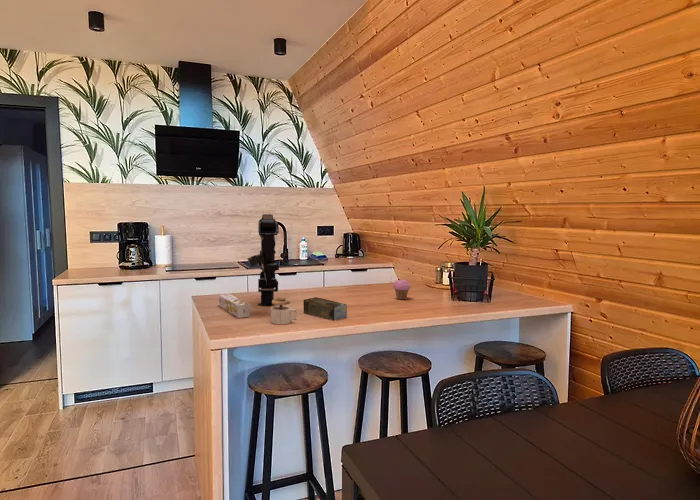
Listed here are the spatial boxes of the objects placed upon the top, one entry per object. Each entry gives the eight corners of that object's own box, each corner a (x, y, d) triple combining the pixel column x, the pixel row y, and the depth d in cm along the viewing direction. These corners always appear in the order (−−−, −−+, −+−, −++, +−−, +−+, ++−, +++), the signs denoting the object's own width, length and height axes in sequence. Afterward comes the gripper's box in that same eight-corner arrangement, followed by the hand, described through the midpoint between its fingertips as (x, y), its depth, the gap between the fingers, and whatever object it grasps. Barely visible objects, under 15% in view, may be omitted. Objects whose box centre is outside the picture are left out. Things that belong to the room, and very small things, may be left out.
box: (218, 306, 207) (218, 294, 206) (230, 305, 209) (230, 293, 209) (237, 319, 183) (237, 305, 183) (250, 318, 186) (250, 304, 186)
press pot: (268, 324, 176) (268, 309, 175) (274, 319, 183) (274, 305, 183) (293, 325, 174) (293, 311, 174) (298, 320, 182) (298, 306, 181)
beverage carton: (334, 321, 182) (334, 305, 182) (302, 313, 195) (302, 298, 195) (347, 318, 188) (347, 302, 188) (315, 310, 201) (315, 296, 201)
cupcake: (411, 300, 225) (411, 280, 224) (393, 300, 225) (394, 280, 224) (408, 297, 234) (409, 278, 233) (392, 297, 234) (392, 277, 233)
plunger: (277, 312, 183) (277, 296, 183) (293, 314, 181) (293, 297, 180) (268, 316, 177) (268, 299, 176) (284, 318, 174) (285, 300, 174)
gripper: (246, 246, 199) (246, 281, 200) (251, 250, 181) (251, 289, 183) (271, 246, 203) (271, 281, 204) (279, 250, 185) (279, 288, 187)
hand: (268, 284), depth 194 cm, fingers closed
